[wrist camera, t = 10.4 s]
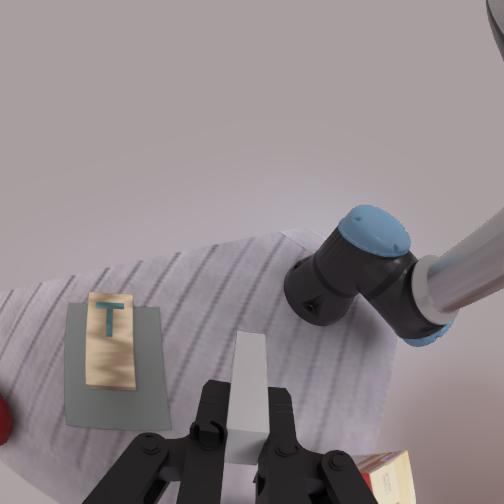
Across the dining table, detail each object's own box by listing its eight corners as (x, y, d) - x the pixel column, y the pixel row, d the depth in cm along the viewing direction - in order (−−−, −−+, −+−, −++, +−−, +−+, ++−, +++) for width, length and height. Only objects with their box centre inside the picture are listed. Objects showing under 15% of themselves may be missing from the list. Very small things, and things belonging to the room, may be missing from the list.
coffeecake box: (285, 467, 33) (369, 472, 19) (321, 455, 36) (409, 447, 22) (301, 534, 25) (383, 560, 11) (335, 519, 28) (421, 530, 13)
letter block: (136, 390, 33) (133, 306, 41) (135, 386, 31) (132, 294, 38) (91, 388, 31) (93, 303, 39) (85, 384, 28) (89, 292, 36)
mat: (159, 308, 43) (159, 307, 43) (171, 429, 32) (171, 429, 32) (69, 303, 37) (68, 302, 37) (66, 424, 26) (66, 424, 26)
